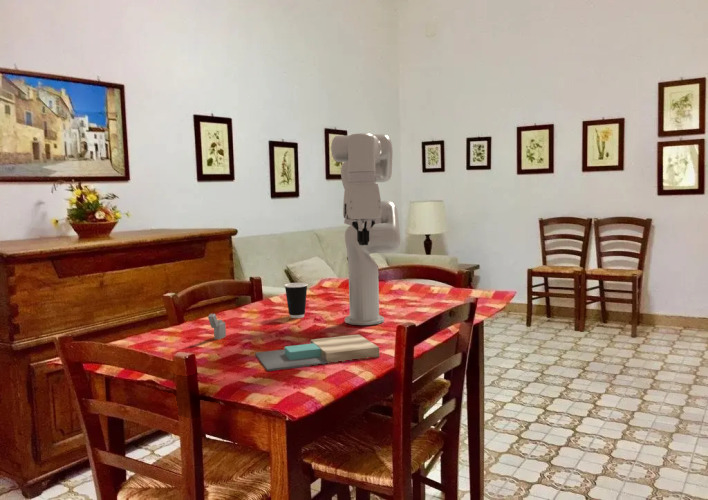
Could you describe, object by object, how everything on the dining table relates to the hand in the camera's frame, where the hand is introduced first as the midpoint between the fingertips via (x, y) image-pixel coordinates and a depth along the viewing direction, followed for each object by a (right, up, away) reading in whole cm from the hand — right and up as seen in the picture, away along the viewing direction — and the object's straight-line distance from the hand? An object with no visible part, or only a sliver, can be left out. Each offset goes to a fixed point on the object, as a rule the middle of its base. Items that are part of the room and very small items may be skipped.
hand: (363, 244), depth 172 cm
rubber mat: (-19, -29, -15) cm, 38 cm away
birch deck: (-5, -28, -10) cm, 31 cm away
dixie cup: (-22, -24, +36) cm, 49 cm away
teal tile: (-16, -29, -14) cm, 35 cm away
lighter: (-42, -28, +8) cm, 51 cm away
